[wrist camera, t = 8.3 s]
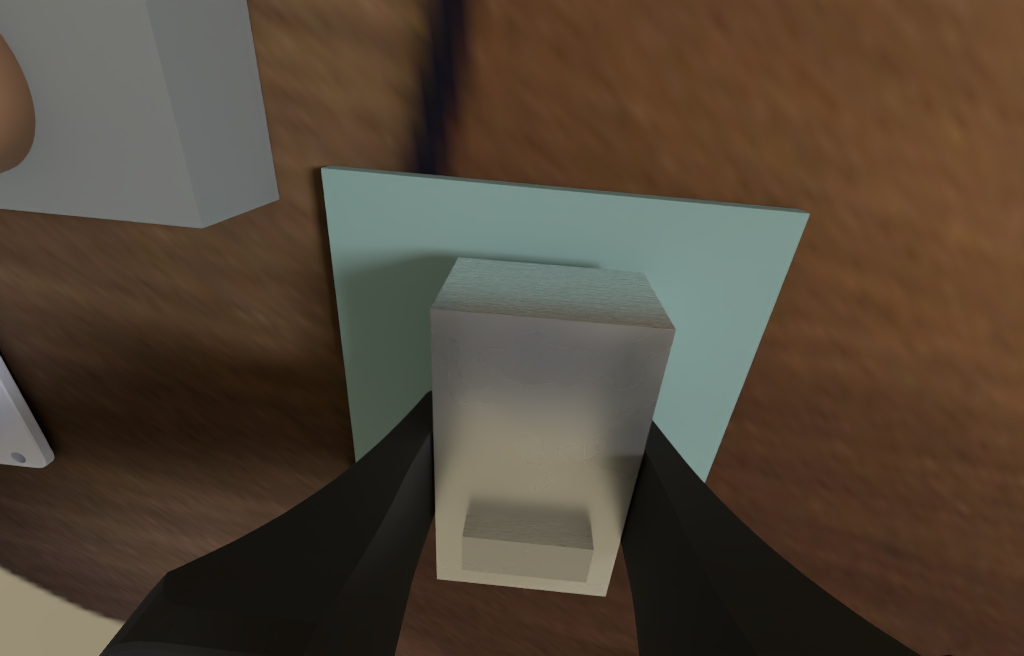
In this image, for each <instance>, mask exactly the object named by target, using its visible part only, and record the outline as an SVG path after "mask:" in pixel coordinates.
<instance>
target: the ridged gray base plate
mask: <svg viewBox="0 0 1024 656" xmlns="http://www.w3.org/2000/svg"><path fill="white" fill-rule="evenodd" d="M276 200H279V194H278V188H277V182H276V176H275V170H274V164H273V158H272V152H271V146H270V140H269V134H268V128H267V122H266V115H265V109H264V103H263V97H262V91H261V85H260V79H259V73H258V67H257V61H256V55H255V49H254V43H253V37H252V31H251V25H250V19H249V13H248V7H247V1H246V0H0V209H10V210H20V211H30V212H40V213H51V214H61V215H71V216H81V217H91V218H102V219H112V220H122V221H132V222H142V223H153V224H163V225H173V226H183V227H193V228H205V227H208V226H210V225H213V224H216V223H218V222H221V221H223V220H226V219H229V218H231V217H234V216H237V215H239V214H242V213H244V212H247V211H250V210H252V209H255V208H258V207H260V206H263V205H265V204H268V203H271V202H273V201H276Z"/></svg>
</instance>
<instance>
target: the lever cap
mask: <svg viewBox="0 0 1024 656" xmlns="http://www.w3.org/2000/svg"><path fill="white" fill-rule="evenodd" d="M430 320H431V359H432V398H433V437H434V476H435V515H436V555H437V579H443V580H452V581H462V582H472V583H481V584H491V585H500V586H510V587H519V588H529V589H539V590H548V591H558V592H567V593H577V594H587V595H596V596H606V592H607V589H608V585H609V581H610V577H611V573H612V570H613V566H614V562H615V558H616V555H617V551H618V547H619V543H620V539H621V536H622V532H623V528H624V524H625V521H626V517H627V513H628V509H629V505H630V502H631V498H632V494H633V490H634V487H635V483H636V479H637V475H638V471H639V468H640V464H641V460H642V456H643V453H644V449H645V445H646V441H647V437H648V434H649V430H650V426H651V422H652V419H653V415H654V411H655V407H656V403H657V400H658V396H659V392H660V388H661V385H662V381H663V377H664V373H665V369H666V366H667V362H668V358H669V354H670V351H671V347H672V343H673V339H674V335H675V332H676V329H675V327H674V325H673V324H672V322H671V320H670V318H669V317H668V315H667V313H666V311H665V310H664V308H663V306H662V304H661V303H660V301H659V299H658V297H657V296H656V294H655V292H654V290H653V288H652V287H651V285H650V283H649V281H648V280H647V278H646V276H645V274H644V273H643V272H631V271H619V270H607V269H595V268H583V267H570V266H558V265H546V264H534V263H521V262H509V261H497V260H485V259H473V258H460V257H458V259H457V261H456V263H455V265H454V266H453V268H452V270H451V272H450V274H449V276H448V277H447V279H446V281H445V283H444V285H443V286H442V288H441V290H440V292H439V294H438V296H437V297H436V299H435V301H434V303H433V305H432V306H431V308H430Z"/></svg>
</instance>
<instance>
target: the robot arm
mask: <svg viewBox="0 0 1024 656" xmlns="http://www.w3.org/2000/svg"><path fill="white" fill-rule="evenodd" d="M53 460H54V453H53V451H52V449H51V448H50V446H49V444H48V442H47V440H46V438H45V436H44V435H43V433H42V431H41V429H40V427H39V425H38V424H37V422H36V420H35V418H34V416H33V414H32V413H31V411H30V409H29V407H28V405H27V403H26V402H25V400H24V398H23V396H22V394H21V392H20V391H19V389H18V387H17V385H16V383H15V381H14V380H13V378H12V376H11V374H10V372H9V370H8V368H7V367H6V365H5V363H4V361H3V359H2V357H1V356H0V464H7V465H16V466H24V467H33V468H43V467H45V466H46V465H48V464H49V463H50V462H52V461H53ZM434 513H435V476H434V437H433V398H432V391H429V392H427V393H426V394H425V395H424V396H423V397H422V399H421V400H420V401H419V402H418V403H417V404H416V405H415V406H414V408H413V409H412V410H411V411H410V412H409V413H408V414H407V415H406V416H405V417H404V418H403V419H402V420H401V421H400V422H399V423H398V424H397V425H396V426H395V427H394V428H393V429H392V430H391V431H390V432H389V433H388V434H387V435H386V436H385V437H384V438H383V439H382V440H381V441H380V442H379V443H378V444H376V445H375V446H374V447H373V448H372V449H371V450H370V451H369V452H367V453H366V454H365V455H364V456H363V457H362V458H361V459H359V460H358V461H357V462H356V463H355V464H353V465H352V466H351V467H350V468H349V469H347V470H346V471H345V472H343V473H342V474H341V475H340V476H338V477H337V478H336V479H334V480H333V481H332V482H330V483H329V484H328V485H326V486H325V487H323V488H322V489H321V490H319V491H318V492H316V493H315V494H313V495H312V496H310V497H309V498H307V499H306V500H304V501H303V502H301V503H300V504H298V505H296V506H295V507H293V508H292V509H290V510H289V511H287V512H286V513H284V514H282V515H281V516H279V517H277V518H275V519H274V520H272V521H270V522H268V523H267V524H265V525H263V526H261V527H260V528H258V529H256V530H254V531H252V532H250V533H248V534H247V535H245V536H243V537H241V538H239V539H237V540H235V541H233V542H231V543H229V544H227V545H225V546H223V547H221V548H219V549H217V550H215V551H213V552H211V553H209V554H207V555H204V556H202V557H200V558H198V559H196V560H194V561H192V562H190V563H187V564H185V565H183V566H181V567H179V568H177V569H174V570H172V571H170V572H168V573H167V574H166V575H165V576H164V577H163V578H162V579H161V580H160V581H159V583H158V584H157V585H156V586H155V587H154V588H153V589H152V590H151V591H150V593H149V594H148V595H147V596H146V597H145V599H144V600H143V601H142V602H141V604H140V605H139V606H138V607H137V609H136V610H135V611H134V612H133V614H132V615H131V616H130V617H129V619H128V620H127V621H126V623H125V624H124V625H123V626H122V628H121V629H120V630H119V632H118V633H117V634H116V635H115V636H114V638H113V639H112V640H111V641H110V643H109V644H108V645H107V647H106V648H105V649H104V650H103V652H102V653H101V654H100V655H99V656H394V655H395V651H396V647H397V642H398V638H399V634H400V630H401V625H402V621H403V617H404V613H405V609H406V604H407V600H408V596H409V592H410V588H411V584H412V580H413V577H414V573H415V570H416V566H417V563H418V560H419V557H420V554H421V551H422V548H423V546H424V543H425V540H426V537H427V534H428V531H429V528H430V525H431V522H432V519H433V516H434ZM621 544H622V548H623V553H624V558H625V563H626V567H627V572H628V577H629V582H630V586H631V592H632V598H633V604H634V611H635V619H636V628H637V637H638V646H639V655H640V656H920V655H919V654H917V653H916V652H914V651H913V650H911V649H910V648H908V647H906V646H905V645H903V644H902V643H900V642H899V641H897V640H896V639H894V638H893V637H891V636H889V635H888V634H886V633H885V632H883V631H882V630H880V629H879V628H877V627H876V626H874V625H873V624H871V623H869V622H868V621H867V620H865V619H864V618H862V617H861V616H859V615H858V614H856V613H855V612H854V611H852V610H851V609H850V608H848V607H847V606H845V605H844V604H843V603H841V602H840V601H838V600H837V599H836V598H834V597H833V596H831V595H830V594H829V593H827V592H826V591H825V590H823V589H822V588H821V587H819V586H818V585H817V584H815V583H814V582H813V581H811V580H810V579H809V578H807V577H806V576H805V575H804V574H802V573H801V572H800V571H799V570H797V569H796V568H795V567H794V566H793V565H791V564H790V563H789V562H788V561H786V560H785V559H784V558H783V557H782V556H780V555H779V554H778V553H777V552H775V551H774V550H773V549H772V548H771V547H770V546H768V545H767V544H766V543H765V542H764V541H763V540H762V539H760V538H759V537H758V536H757V535H756V534H755V533H754V532H753V531H752V530H751V529H750V528H749V527H747V526H746V525H745V524H744V523H743V522H742V521H741V520H740V519H739V518H738V517H737V516H736V515H735V514H734V513H733V512H732V511H731V510H730V509H729V508H728V507H727V506H726V505H725V504H724V503H723V502H722V501H721V500H720V499H719V498H718V497H717V496H716V495H715V494H714V493H713V492H712V491H711V490H710V489H709V487H708V486H707V485H706V484H705V483H704V482H703V481H702V480H701V479H700V477H699V476H698V475H697V474H696V473H695V472H694V471H693V469H692V468H691V467H690V466H689V465H688V464H687V462H686V461H685V460H684V459H683V458H682V456H681V455H680V454H679V453H678V451H677V450H676V449H675V448H674V446H673V445H672V444H671V443H670V441H669V440H668V439H667V438H666V436H665V435H664V434H663V432H662V431H661V430H660V429H659V427H658V426H657V425H656V424H655V422H654V421H653V420H652V422H651V426H650V430H649V434H648V437H647V441H646V445H645V449H644V453H643V456H642V460H641V464H640V468H639V471H638V475H637V479H636V483H635V487H634V490H633V494H632V498H631V502H630V505H629V509H628V513H627V517H626V521H625V524H624V528H623V532H622V536H621Z"/></svg>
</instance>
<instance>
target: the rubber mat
mask: <svg viewBox="0 0 1024 656" xmlns="http://www.w3.org/2000/svg"><path fill="white" fill-rule="evenodd" d="M321 173H322V181H323V190H324V198H325V207H326V215H327V223H328V232H329V240H330V249H331V257H332V265H333V274H334V282H335V291H336V299H337V308H338V316H339V324H340V333H341V341H342V350H343V358H344V366H345V375H346V383H347V392H348V400H349V408H350V417H351V425H352V434H353V442H354V450H355V459H356V462H357V461H358V460H359V459H361V458H362V457H363V456H364V455H365V454H366V453H367V452H369V451H370V450H371V449H372V448H373V447H374V446H375V445H376V444H378V443H379V442H380V441H381V440H382V439H383V438H384V437H385V436H386V435H387V434H388V433H389V432H390V431H391V430H392V429H393V428H394V427H395V426H396V425H397V424H398V423H399V422H400V421H401V420H402V419H403V418H404V417H405V416H406V415H407V414H408V413H409V412H410V411H411V410H412V409H413V408H414V406H415V405H416V404H417V403H418V402H419V401H420V400H421V399H422V397H423V396H424V395H425V394H426V393H427V392H429V391H432V359H431V320H430V308H431V306H432V305H433V303H434V301H435V299H436V297H437V296H438V294H439V292H440V290H441V288H442V286H443V285H444V283H445V281H446V279H447V277H448V276H449V274H450V272H451V270H452V268H453V266H454V265H455V263H456V261H457V259H458V257H460V258H473V259H485V260H497V261H509V262H521V263H534V264H546V265H558V266H570V267H583V268H595V269H607V270H619V271H631V272H643V273H644V274H645V276H646V278H647V280H648V281H649V283H650V285H651V287H652V288H653V290H654V292H655V294H656V296H657V297H658V299H659V301H660V303H661V304H662V306H663V308H664V310H665V311H666V313H667V315H668V317H669V318H670V320H671V322H672V324H673V325H674V327H675V329H676V332H675V335H674V339H673V343H672V347H671V351H670V354H669V358H668V362H667V366H666V369H665V373H664V377H663V381H662V385H661V388H660V392H659V396H658V400H657V403H656V407H655V411H654V415H653V419H652V420H653V421H654V422H655V424H656V425H657V426H658V427H659V429H660V430H661V431H662V432H663V434H664V435H665V436H666V438H667V439H668V440H669V441H670V443H671V444H672V445H673V446H674V448H675V449H676V450H677V451H678V453H679V454H680V455H681V456H682V458H683V459H684V460H685V461H686V462H687V464H688V465H689V466H690V467H691V468H692V469H693V471H694V472H695V473H696V474H697V475H698V476H699V477H700V479H701V480H702V481H703V482H704V483H705V481H706V478H707V476H708V473H709V471H710V468H711V465H712V463H713V460H714V458H715V455H716V453H717V450H718V448H719V445H720V442H721V440H722V437H723V435H724V432H725V430H726V427H727V425H728V422H729V419H730V417H731V414H732V412H733V409H734V407H735V404H736V402H737V399H738V396H739V394H740V391H741V389H742V386H743V384H744V381H745V379H746V376H747V373H748V371H749V368H750V366H751V363H752V361H753V358H754V356H755V353H756V350H757V348H758V345H759V343H760V340H761V338H762V335H763V333H764V330H765V327H766V325H767V322H768V320H769V317H770V315H771V312H772V310H773V307H774V304H775V302H776V299H777V297H778V294H779V292H780V289H781V287H782V284H783V281H784V279H785V276H786V274H787V271H788V269H789V266H790V264H791V261H792V258H793V256H794V253H795V251H796V248H797V246H798V243H799V241H800V238H801V235H802V233H803V230H804V228H805V225H806V223H807V220H808V218H809V215H810V213H807V212H805V211H803V210H801V209H794V208H783V207H772V206H761V205H751V204H740V203H729V202H718V201H708V200H697V199H686V198H675V197H665V196H654V195H643V194H633V193H622V192H611V191H600V190H590V189H579V188H568V187H557V186H547V185H536V184H525V183H514V182H504V181H493V180H482V179H471V178H461V177H450V176H439V175H428V174H418V173H407V172H396V171H385V170H375V169H364V168H353V167H342V166H332V165H329V166H326V167H323V168H321Z"/></svg>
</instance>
